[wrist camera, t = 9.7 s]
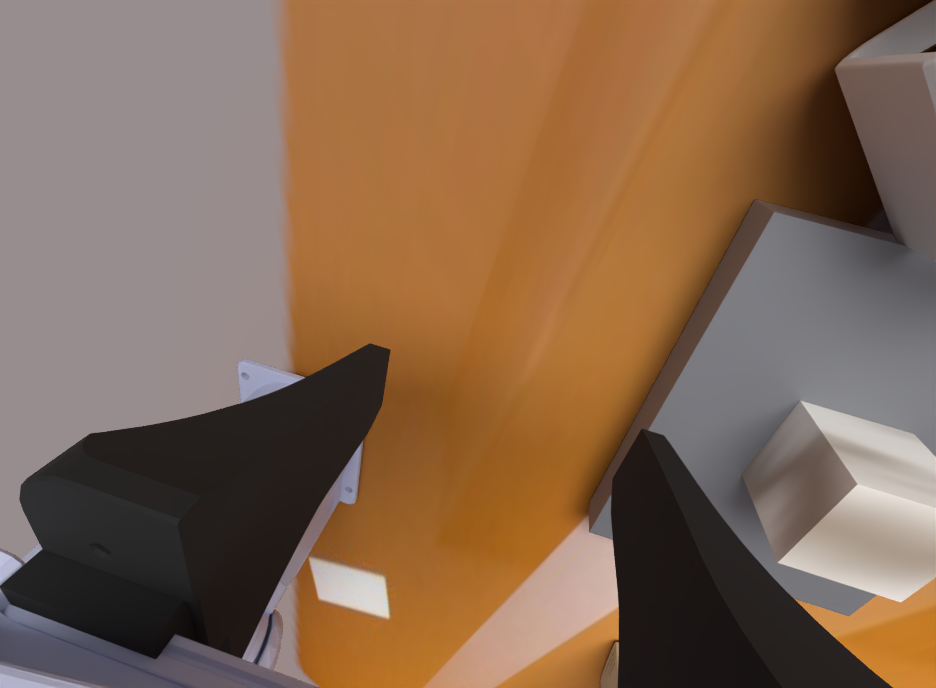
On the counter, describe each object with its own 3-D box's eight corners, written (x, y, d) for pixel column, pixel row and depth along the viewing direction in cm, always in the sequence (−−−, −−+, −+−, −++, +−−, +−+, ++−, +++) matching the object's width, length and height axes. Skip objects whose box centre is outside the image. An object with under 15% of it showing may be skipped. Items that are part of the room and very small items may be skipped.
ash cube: (841, 505, 20) (900, 602, 16) (741, 474, 21) (777, 562, 17) (914, 434, 18) (1003, 528, 14) (800, 400, 18) (857, 484, 14)
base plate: (831, 580, 25) (848, 616, 24) (588, 503, 26) (589, 532, 25) (1156, 302, 16) (1224, 329, 14) (755, 199, 17) (774, 211, 15)
